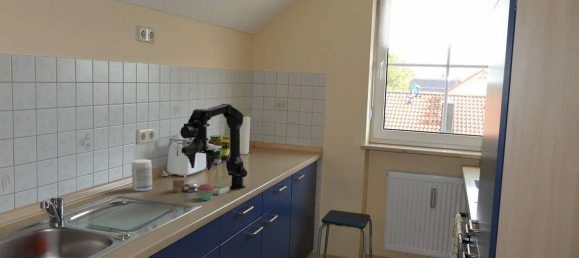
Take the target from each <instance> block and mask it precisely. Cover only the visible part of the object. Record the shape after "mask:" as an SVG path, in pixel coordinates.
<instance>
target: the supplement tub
mask: <svg viewBox="0 0 579 258" xmlns="http://www.w3.org/2000/svg"><path fill="white" fill-rule="evenodd" d="M152 166H153V165H152V160H151V159H145V158H144V159H143V158H142V159H133V160H132V161H131V178H132V179H131V180H132V190H133V191H134V192H147V191H151V190H152V189H153V167H152Z"/></svg>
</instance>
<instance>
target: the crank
mask: <svg viewBox="0 0 579 258" xmlns="http://www.w3.org/2000/svg"><path fill="white" fill-rule="evenodd" d="M197 185H198V184H197V183H193V182H192V183H191V182H185V181H184V187H186V188H198V187H197Z"/></svg>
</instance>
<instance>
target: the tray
mask: <svg viewBox="0 0 579 258" xmlns="http://www.w3.org/2000/svg"><path fill="white" fill-rule="evenodd" d="M212 185H213V186H214V187H215V192H213V194H212V195H216V194H217V196H220V194H221V195H223V194H225V192H226V193H228V191H229V192H230V191H231V188H230V186H231V185H230V186H229V185H221V184H212Z"/></svg>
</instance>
